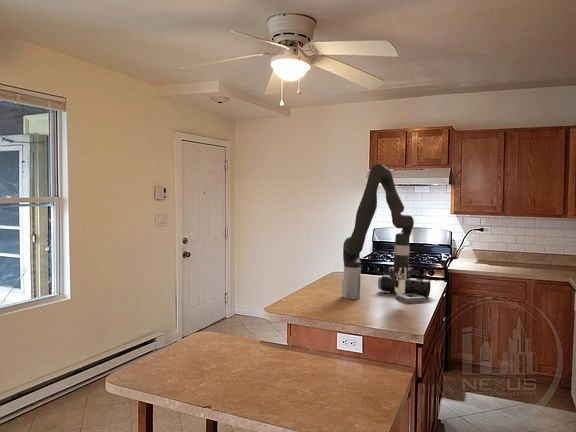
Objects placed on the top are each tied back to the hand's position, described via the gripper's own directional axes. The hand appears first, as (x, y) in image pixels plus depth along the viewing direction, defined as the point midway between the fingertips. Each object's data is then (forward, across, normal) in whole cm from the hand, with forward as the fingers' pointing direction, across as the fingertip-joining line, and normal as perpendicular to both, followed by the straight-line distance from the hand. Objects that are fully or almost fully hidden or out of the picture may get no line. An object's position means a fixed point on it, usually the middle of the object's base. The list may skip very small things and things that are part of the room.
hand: (399, 287), depth 221 cm
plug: (+3, 0, 0) cm, 3 cm away
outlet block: (+10, +13, +10) cm, 19 cm away
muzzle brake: (+10, +16, +23) cm, 30 cm away
